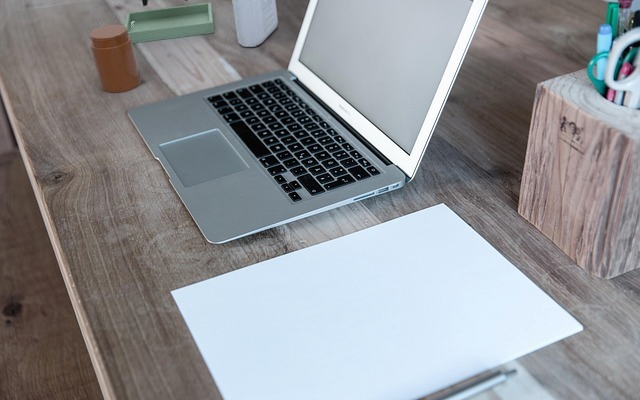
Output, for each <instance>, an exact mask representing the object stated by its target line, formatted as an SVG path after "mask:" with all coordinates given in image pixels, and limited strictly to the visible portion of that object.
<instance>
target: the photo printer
mask: <svg viewBox="0 0 640 400" xmlns="http://www.w3.org/2000/svg"><path fill="white" fill-rule="evenodd" d="M231 2H232V3H231V4H232V9H233V15H234V16H233V18H234V23H235V30H236V37H237V43H238V44H239V45H240V46H241V47H244V48H254V47H257V46H259V45H260V44H263V42H265V40H266V39H267V38H268V37H269V36H270V35H271V34H272V33H273V32H274V31H275V30H276V29H277V27H278V25H279V24H278V21H279V19H278V11H277V1H276V0H231Z"/></svg>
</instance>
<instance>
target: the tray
mask: <svg viewBox="0 0 640 400" xmlns="http://www.w3.org/2000/svg"><path fill="white" fill-rule="evenodd" d="M132 21H135V22H134V23H133V24H134V25H133V24H132V25H133V26H132V25H131V22H132ZM123 26H125V27H126V29H127V31H128V34H129V35H130V36H131V38H132V42H133V44H137V43H145V42H152V41H161V40H168V39H177V38H185V37H194V36H201V35H208V34H215V23H214V11H213V6H212V2H203V3H196V4H187V5H178V6H169V7H163V8H162V7H161V8H154V9H146V10H138V11H128V12H126V15H125V20H124V25H123ZM131 26H132V27H131Z"/></svg>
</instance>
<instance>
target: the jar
mask: <svg viewBox="0 0 640 400" xmlns="http://www.w3.org/2000/svg"><path fill="white" fill-rule="evenodd" d="M89 39H90V40H91V41H90V42H89V47H90V50H91V54H92V58H93V62H94V66H95V69H96V72H97V76H98V80H99V85H100V88H101V90H103V91H104V92H106V93H112V94H114V93H115V94H117V93H124V92H128V91H131V90H134V89H135V88H137V87H138V86H139V85H141V83H142V77H141V72H140V68H139V64H138V61H137V55H136V51H135V48H134V43H133V42H132V38H131V36H130V35H129V34H128V31H127V29H126V27H125V26H124V25H123V24H107V25H102V26H99V27H97V28H95V29H92V30H91V31H90V33H89Z"/></svg>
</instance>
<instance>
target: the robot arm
mask: <svg viewBox="0 0 640 400" xmlns="http://www.w3.org/2000/svg"><path fill="white" fill-rule="evenodd" d="M184 1H185V2H187V1H189V0H184ZM141 3H142V6H143V7H147V6H148V4H149V0H141Z"/></svg>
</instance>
